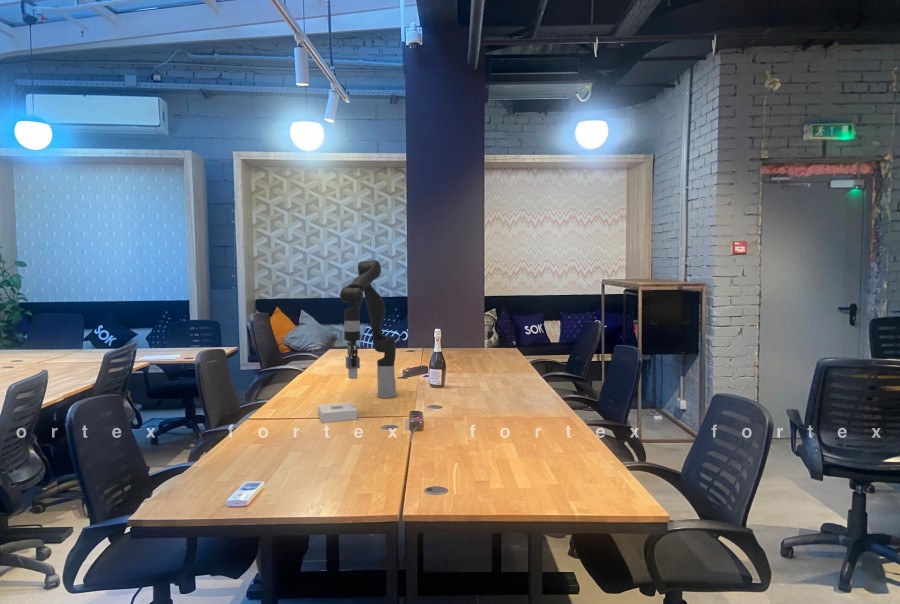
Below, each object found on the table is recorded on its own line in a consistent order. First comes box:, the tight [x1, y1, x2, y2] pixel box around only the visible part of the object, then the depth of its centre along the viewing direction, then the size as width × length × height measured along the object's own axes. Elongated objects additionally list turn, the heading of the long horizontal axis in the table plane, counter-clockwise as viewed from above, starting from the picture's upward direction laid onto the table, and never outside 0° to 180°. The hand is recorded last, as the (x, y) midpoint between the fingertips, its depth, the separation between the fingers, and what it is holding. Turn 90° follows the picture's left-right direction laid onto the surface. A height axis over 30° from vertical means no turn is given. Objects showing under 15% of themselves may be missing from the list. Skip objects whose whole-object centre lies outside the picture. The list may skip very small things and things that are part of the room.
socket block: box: [317, 401, 358, 424], centre depth 278 cm, size 16×16×4 cm
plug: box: [345, 356, 361, 380], centre depth 279 cm, size 6×6×10 cm
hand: (352, 365), depth 279 cm, fingers closed on plug, 5 cm apart
